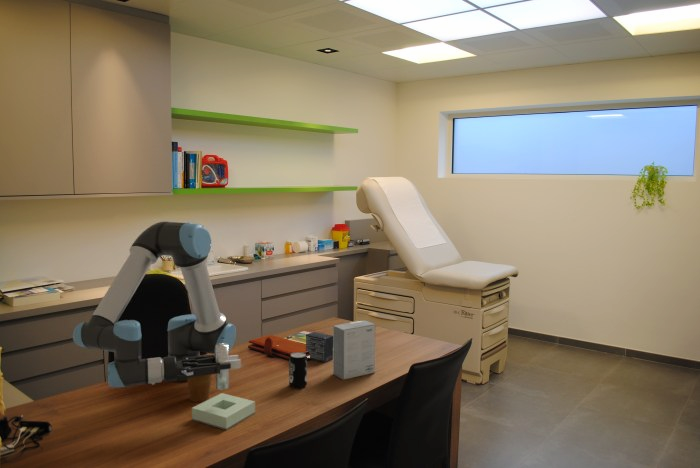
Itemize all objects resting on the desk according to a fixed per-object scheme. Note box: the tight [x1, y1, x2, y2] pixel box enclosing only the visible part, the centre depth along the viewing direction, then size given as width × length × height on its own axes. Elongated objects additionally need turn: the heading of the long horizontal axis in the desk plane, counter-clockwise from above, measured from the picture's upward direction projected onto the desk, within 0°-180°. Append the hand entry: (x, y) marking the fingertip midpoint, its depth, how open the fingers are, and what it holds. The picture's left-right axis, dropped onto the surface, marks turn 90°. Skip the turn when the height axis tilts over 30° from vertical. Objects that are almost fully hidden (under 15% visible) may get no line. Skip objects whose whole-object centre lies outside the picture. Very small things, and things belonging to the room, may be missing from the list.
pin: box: [215, 343, 230, 391], centre depth 175 cm, size 4×4×14 cm
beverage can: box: [288, 351, 308, 390], centre depth 204 cm, size 7×7×12 cm
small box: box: [305, 331, 333, 363], centre depth 235 cm, size 11×6×10 cm, turn 58°
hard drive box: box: [332, 319, 376, 381], centre depth 217 cm, size 16×8×20 cm, turn 123°
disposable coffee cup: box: [187, 374, 213, 403], centre depth 191 cm, size 10×10×12 cm
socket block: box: [191, 392, 256, 431], centre depth 177 cm, size 14×14×4 cm
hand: (239, 361), depth 177 cm, fingers closed on pin, 4 cm apart
